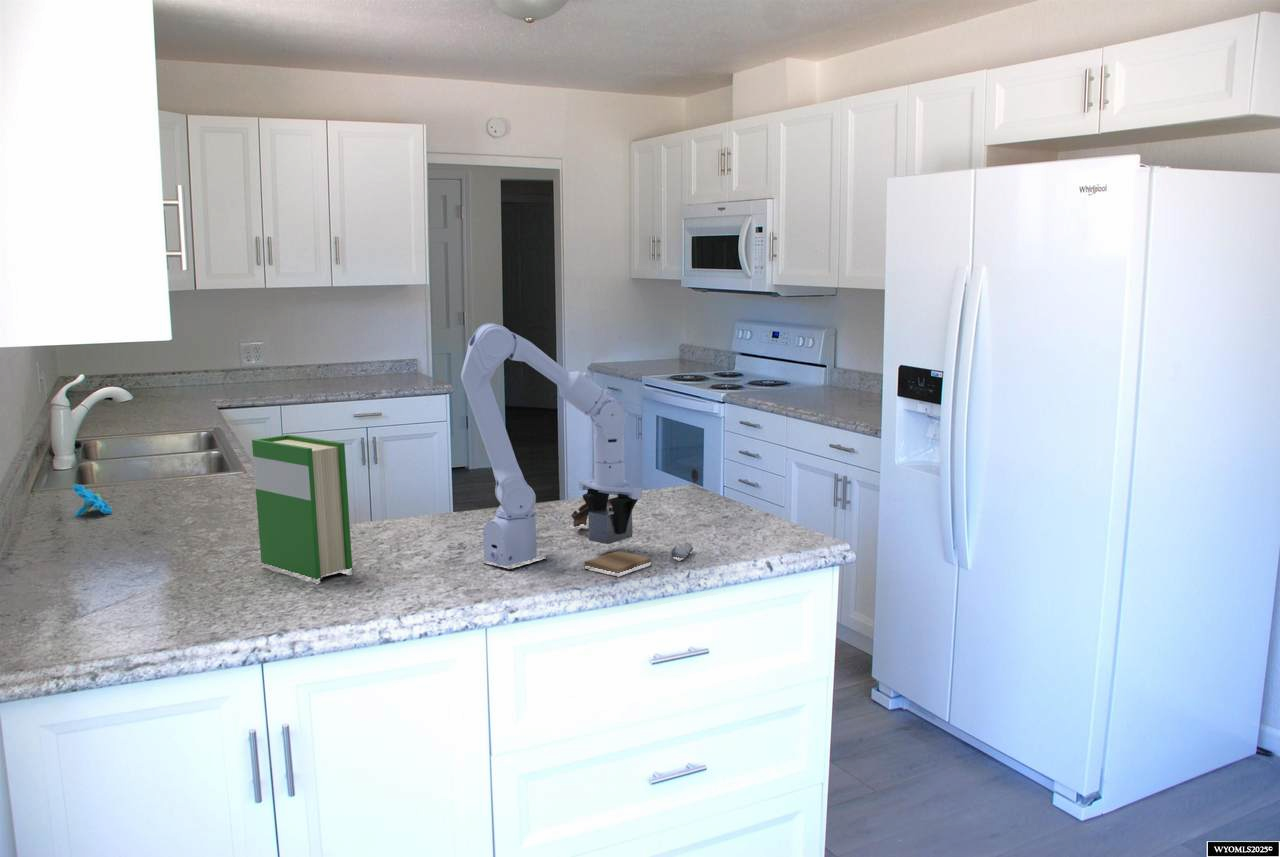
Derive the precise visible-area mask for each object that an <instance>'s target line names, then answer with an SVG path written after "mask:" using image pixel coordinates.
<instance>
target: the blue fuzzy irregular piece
mask: <svg viewBox="0 0 1280 857" xmlns="http://www.w3.org/2000/svg"><path fill="white" fill-rule="evenodd" d="M72 490H73V491H74V492H75V493H76V496H77V497H78V498H82V499H83V505H82V506H81V507H80V508H79V509H78V510H77V511H76V513H75V514H74V515H75V516H76V517H78V516H79V517H80V516H81V515H82V514H83V513H84V512H85V513H87V512H89V510H90V509H91V508H94V509H95V510H97V511H98V509H99V510H100V512H101V513H103V514H105V515H106V514H107V515H111V513H112V512H113V511H112V510H113V507H111V506H109V503H108V502H107V501H105V500H102V496H101V495H100V494H99V493H95V494H94V491H93V490H91V489H90V488H87V489H86V487H85V486H84V485H82V484H77V483H74V485H72Z"/></svg>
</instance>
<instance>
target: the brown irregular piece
mask: <svg viewBox="0 0 1280 857" xmlns="http://www.w3.org/2000/svg"><path fill="white" fill-rule="evenodd" d="M610 499H611V498H608V502H607V507H609V506H612V505H611V502H610ZM577 509H578V511H577V510H575V511H573V513H571V515H570V516H571V518H572V519H573V522H572V525H573V527H575V528H577V526H579V525H580V524H584V526H587V524H588V523H587V520H588V512H590V510H589V508H588V506H587V504H586V502H584V503H583V505H582V506H580V507H578V508H577Z"/></svg>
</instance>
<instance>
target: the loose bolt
mask: <svg viewBox="0 0 1280 857" xmlns="http://www.w3.org/2000/svg"><path fill="white" fill-rule="evenodd" d="M692 550H693V551H694V546H693V545H692V544H691V543H686V544H685V545H681V544H678V545H676V546H674V548H672V550H671V552H670V553H671V557H672V558H673V557H677V558H678V557H679V558H685V559H686V558H687V557H688V556H687V554H689V553H690V552H691V551H692ZM693 551H692V552H693ZM692 552H691V553H692ZM691 553H690V554H691ZM690 554H689V555H690Z"/></svg>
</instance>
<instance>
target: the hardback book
mask: <svg viewBox="0 0 1280 857" xmlns="http://www.w3.org/2000/svg"><path fill="white" fill-rule="evenodd" d="M251 445H252V458H253V460H252V461H253V470H254V471H253V472H254V484H255V485H254V486H255V499H256V513H257V524H258V535H259V546H260V562H261V563H264V564H268V565H272V566H275V567H278V568H281V569H285V570H288V571H291V572H295V573H299V574H301V575H305V576H308V577H312V578H315V579H318V578H321V576H323V575H326V574H330V573H333V572H336V571H339V570H343V569H350V568H352V569H353V558H352V541H351V527H350V513H349V496H348V481H347V463H346V448H345V447H346V446H345V443H344V442H341V441H333V440H326V439H321V438H313V437H308V436H307V437H306V436H299V435H293V434H284V435H283V434H282V435H278V436H277V435H276V436H271V437H263V438H257V439H251ZM261 563H260V564H261Z"/></svg>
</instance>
